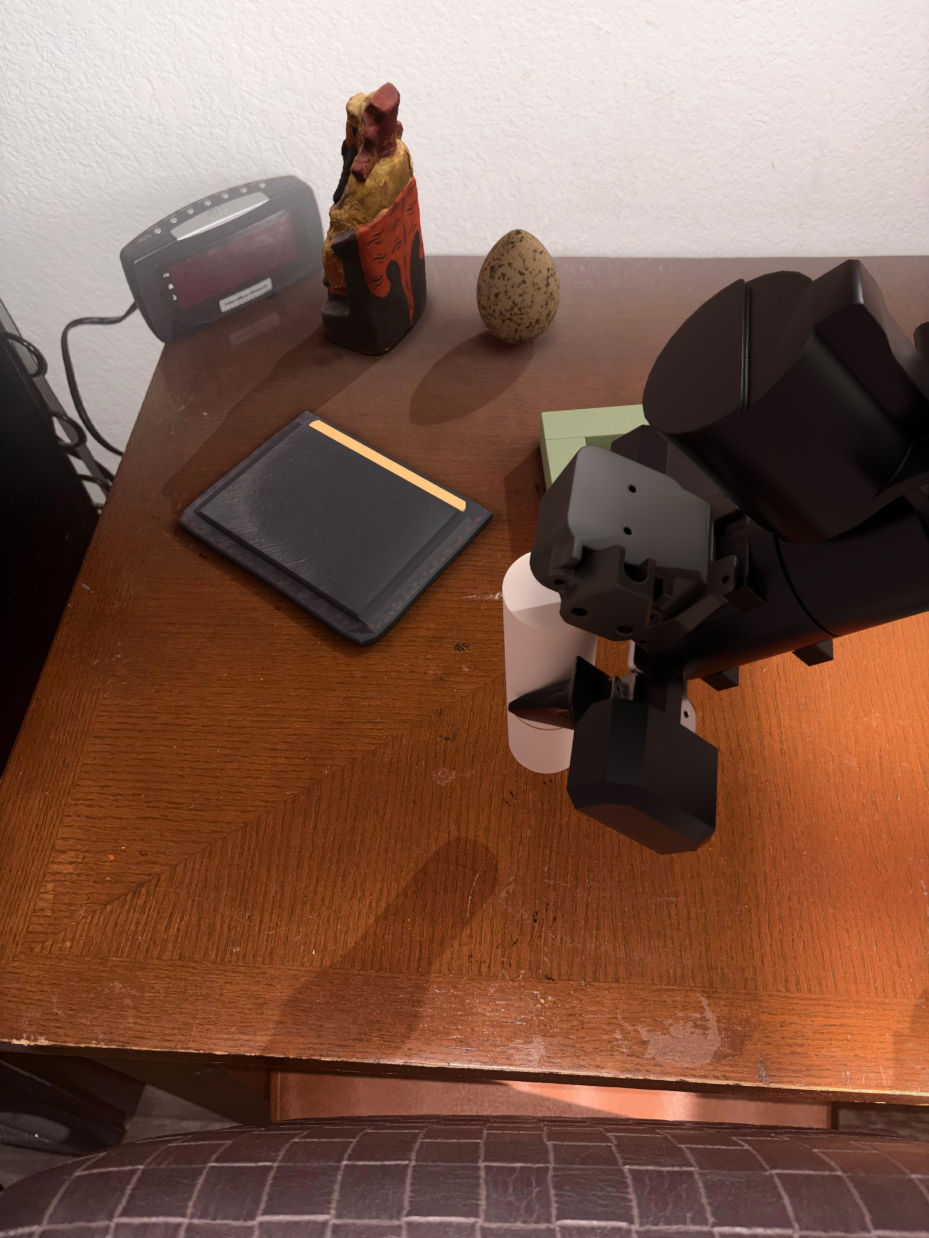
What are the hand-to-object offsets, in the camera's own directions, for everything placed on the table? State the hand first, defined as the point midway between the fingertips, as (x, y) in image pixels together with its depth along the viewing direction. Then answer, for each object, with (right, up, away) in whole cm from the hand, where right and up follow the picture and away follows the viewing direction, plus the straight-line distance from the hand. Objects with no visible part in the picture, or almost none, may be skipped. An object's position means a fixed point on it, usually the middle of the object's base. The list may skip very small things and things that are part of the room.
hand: (521, 669), depth 42 cm
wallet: (-13, +10, +23) cm, 28 cm away
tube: (+2, -4, +6) cm, 8 cm away
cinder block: (+13, +13, +23) cm, 30 cm away
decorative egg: (+2, +28, +34) cm, 44 cm away
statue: (-11, +29, +35) cm, 47 cm away
